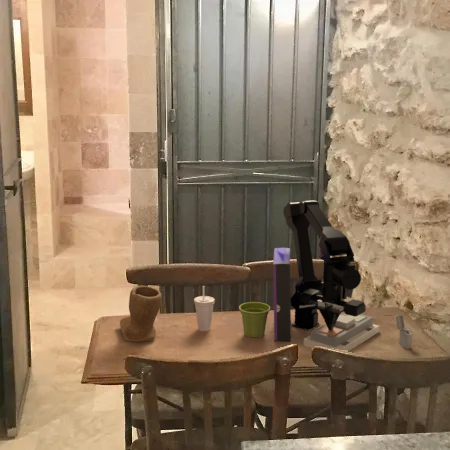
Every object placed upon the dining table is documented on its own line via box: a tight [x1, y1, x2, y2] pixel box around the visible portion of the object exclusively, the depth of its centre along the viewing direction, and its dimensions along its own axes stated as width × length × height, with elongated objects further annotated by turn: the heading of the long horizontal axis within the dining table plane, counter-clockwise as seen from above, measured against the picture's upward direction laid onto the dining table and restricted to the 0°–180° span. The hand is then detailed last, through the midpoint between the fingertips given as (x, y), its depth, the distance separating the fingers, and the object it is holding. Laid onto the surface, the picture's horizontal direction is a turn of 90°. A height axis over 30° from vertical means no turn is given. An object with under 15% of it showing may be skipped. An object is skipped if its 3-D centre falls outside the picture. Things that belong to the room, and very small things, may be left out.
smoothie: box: [193, 285, 216, 332], centre depth 203 cm, size 6×6×14 cm
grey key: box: [335, 314, 355, 330], centre depth 197 cm, size 5×5×2 cm
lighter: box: [395, 314, 413, 350], centre depth 194 cm, size 7×2×8 cm, turn 15°
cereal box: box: [272, 247, 292, 343], centre depth 201 cm, size 17×5×24 cm, turn 175°
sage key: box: [347, 315, 366, 323], centre depth 203 cm, size 5×5×2 cm
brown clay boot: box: [119, 285, 163, 343], centre depth 198 cm, size 15×12×15 cm
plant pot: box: [238, 301, 271, 338], centre depth 200 cm, size 9×9×9 cm
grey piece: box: [303, 313, 380, 352], centre depth 198 cm, size 12×24×4 cm, turn 140°
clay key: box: [319, 326, 343, 337], centre depth 192 cm, size 5×5×2 cm
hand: (330, 330), depth 192 cm, fingers closed, pressing on clay key
